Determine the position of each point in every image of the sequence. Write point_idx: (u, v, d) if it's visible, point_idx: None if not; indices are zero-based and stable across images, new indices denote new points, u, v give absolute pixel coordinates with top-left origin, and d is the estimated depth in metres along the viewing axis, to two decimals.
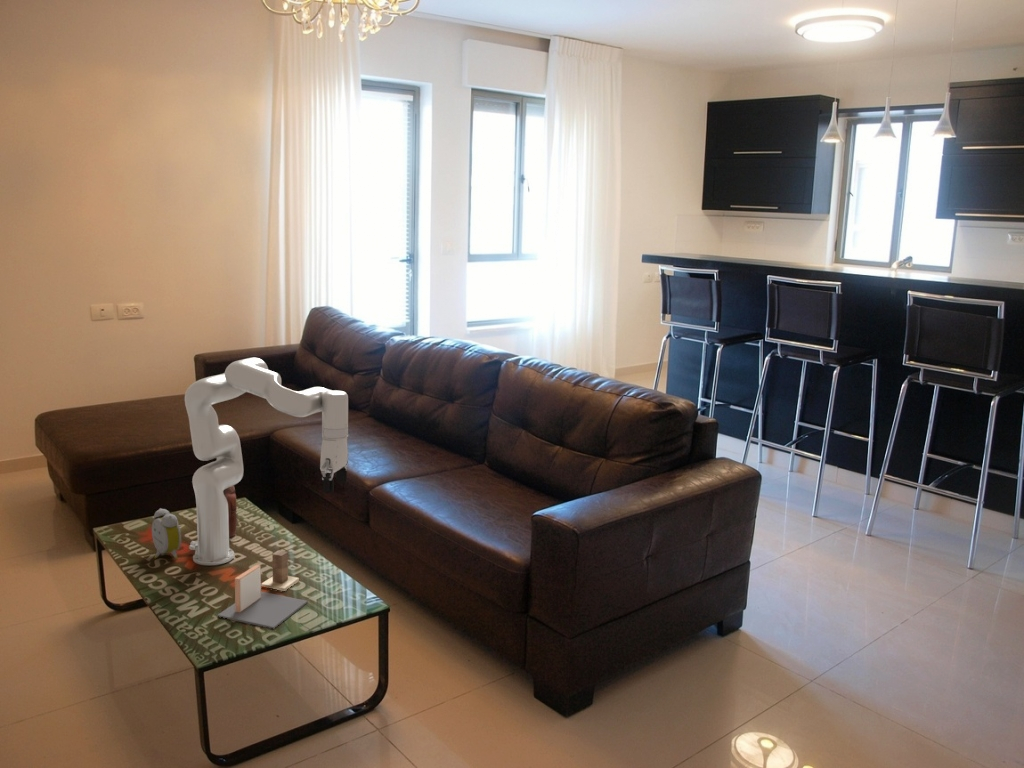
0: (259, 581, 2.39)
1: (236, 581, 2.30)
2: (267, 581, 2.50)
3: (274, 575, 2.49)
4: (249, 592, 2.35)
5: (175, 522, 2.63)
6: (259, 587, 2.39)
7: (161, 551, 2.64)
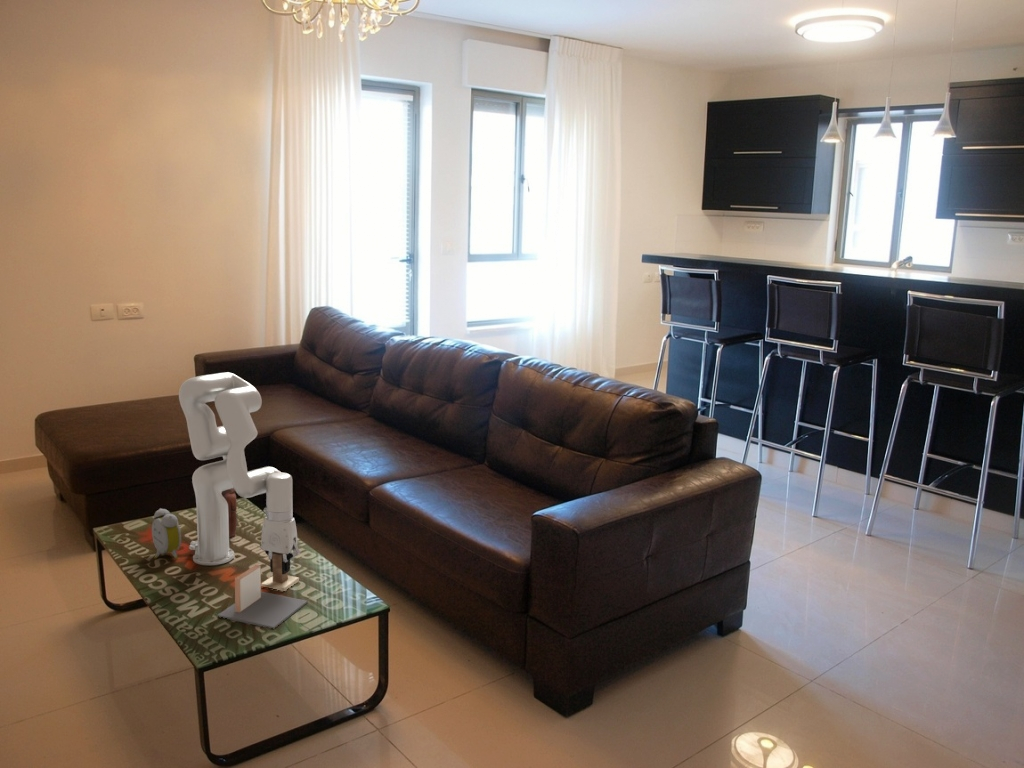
0: (259, 581, 2.39)
1: (236, 581, 2.30)
2: (267, 580, 2.50)
3: (274, 575, 2.49)
4: (249, 592, 2.35)
5: (175, 522, 2.63)
6: (259, 587, 2.39)
7: (161, 551, 2.64)
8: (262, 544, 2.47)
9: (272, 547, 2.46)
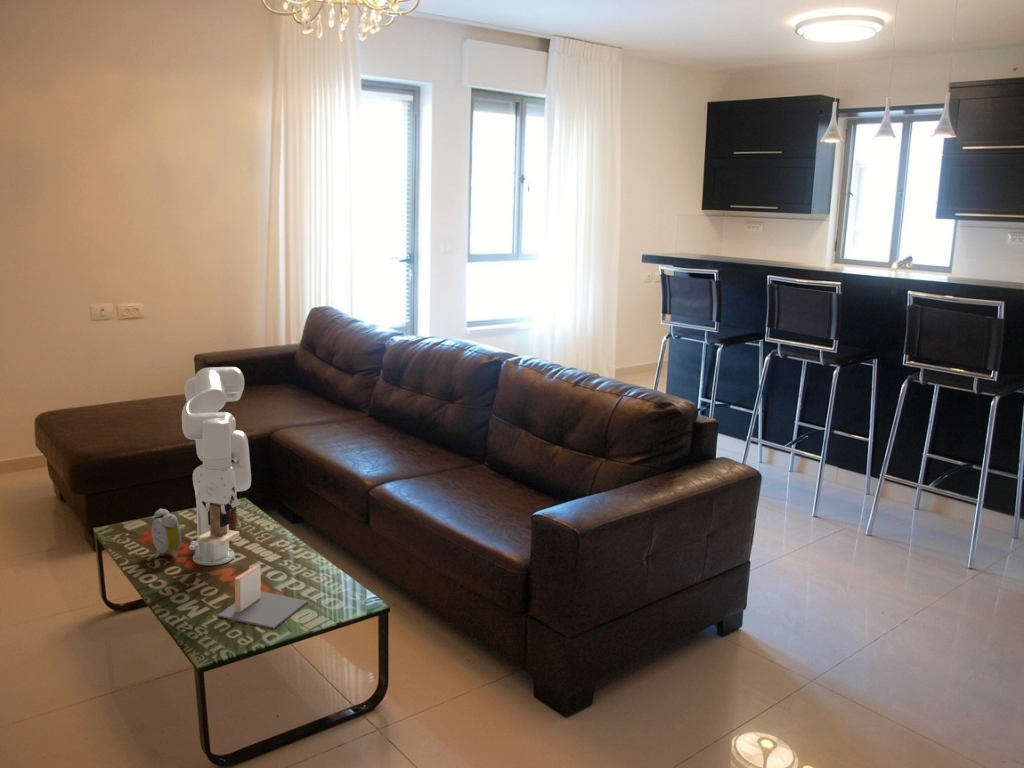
0: (259, 581, 2.39)
1: (236, 581, 2.30)
2: (205, 534, 2.35)
3: (212, 528, 2.34)
4: (249, 592, 2.35)
5: (175, 522, 2.63)
6: (259, 587, 2.39)
7: (161, 551, 2.64)
8: (198, 495, 2.32)
9: (209, 498, 2.31)
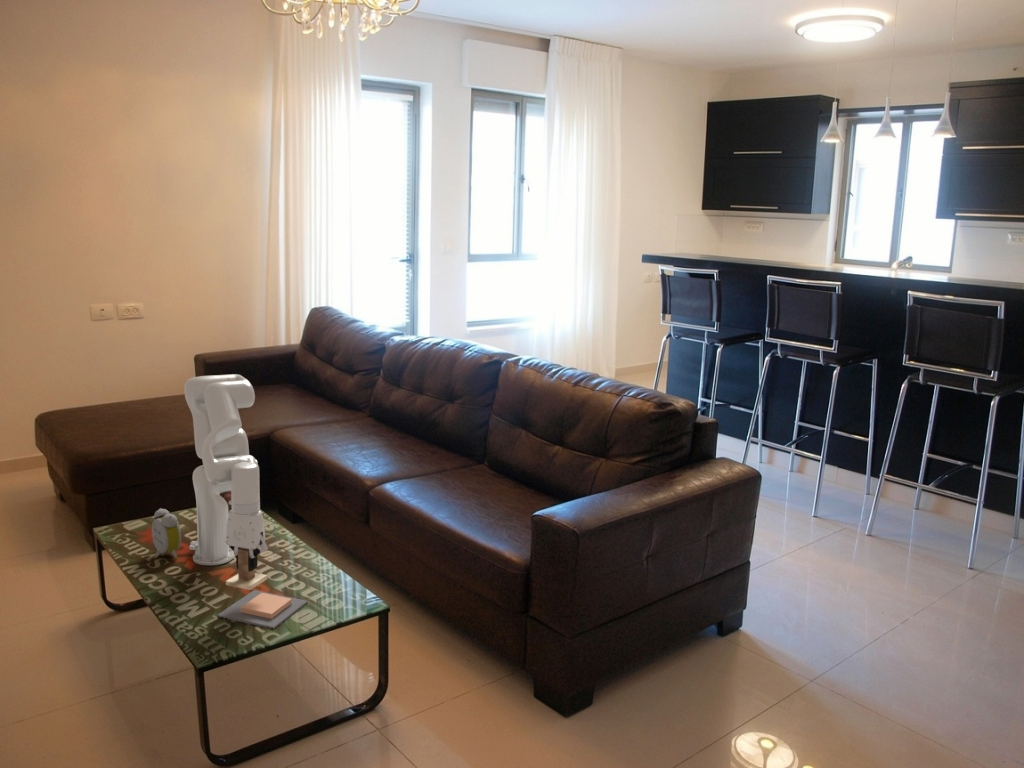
0: None
1: (269, 615, 2.28)
2: (233, 578, 2.34)
3: (240, 572, 2.33)
4: None
5: (175, 522, 2.63)
6: None
7: (161, 551, 2.64)
8: (227, 539, 2.31)
9: (237, 542, 2.30)
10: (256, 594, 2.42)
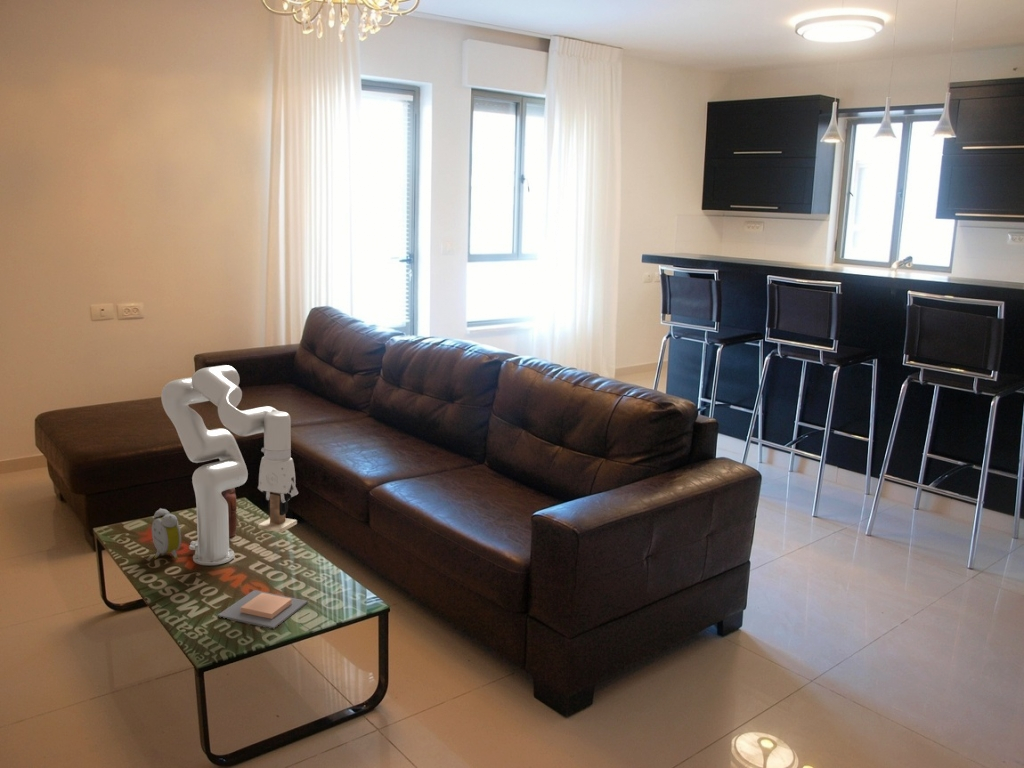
0: None
1: (269, 615, 2.28)
2: (265, 522, 2.46)
3: (271, 516, 2.45)
4: None
5: (175, 522, 2.63)
6: None
7: (161, 551, 2.64)
8: (260, 484, 2.43)
9: (270, 487, 2.42)
10: (256, 594, 2.42)
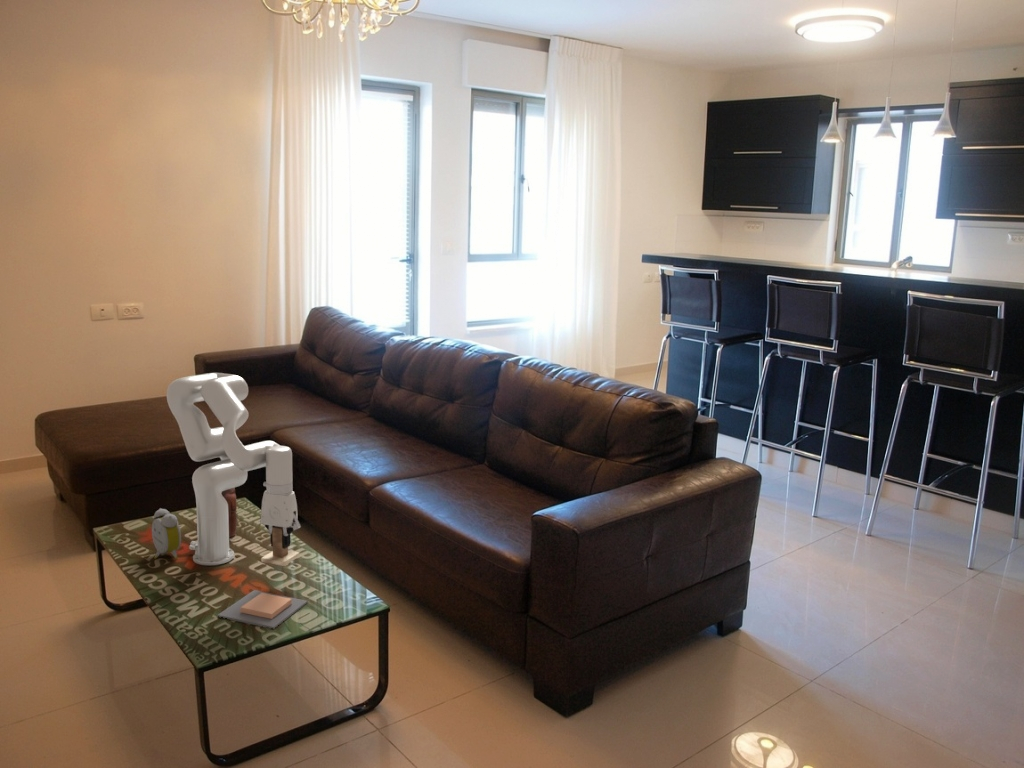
0: None
1: (269, 615, 2.28)
2: (267, 555, 2.48)
3: (274, 549, 2.48)
4: None
5: (175, 522, 2.63)
6: None
7: (161, 551, 2.64)
8: (262, 518, 2.46)
9: (272, 521, 2.45)
10: (256, 594, 2.42)
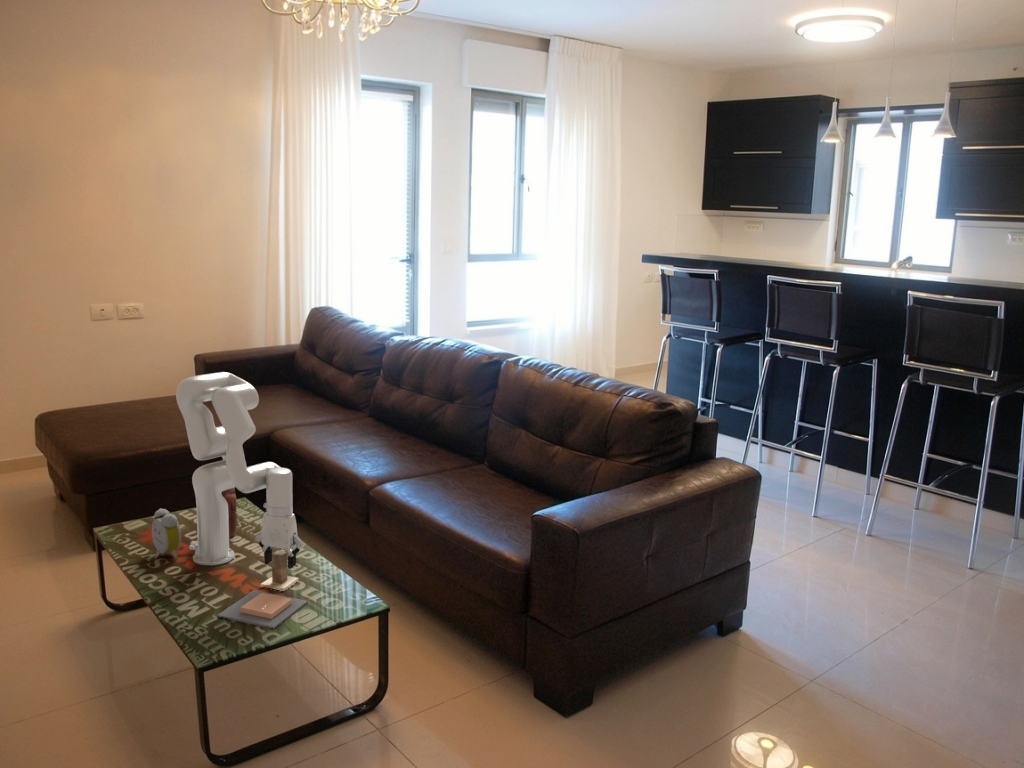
0: None
1: (269, 615, 2.28)
2: (267, 581, 2.50)
3: (274, 575, 2.49)
4: None
5: (175, 522, 2.63)
6: None
7: (161, 551, 2.64)
8: (262, 539, 2.47)
9: (272, 542, 2.46)
10: (256, 594, 2.42)
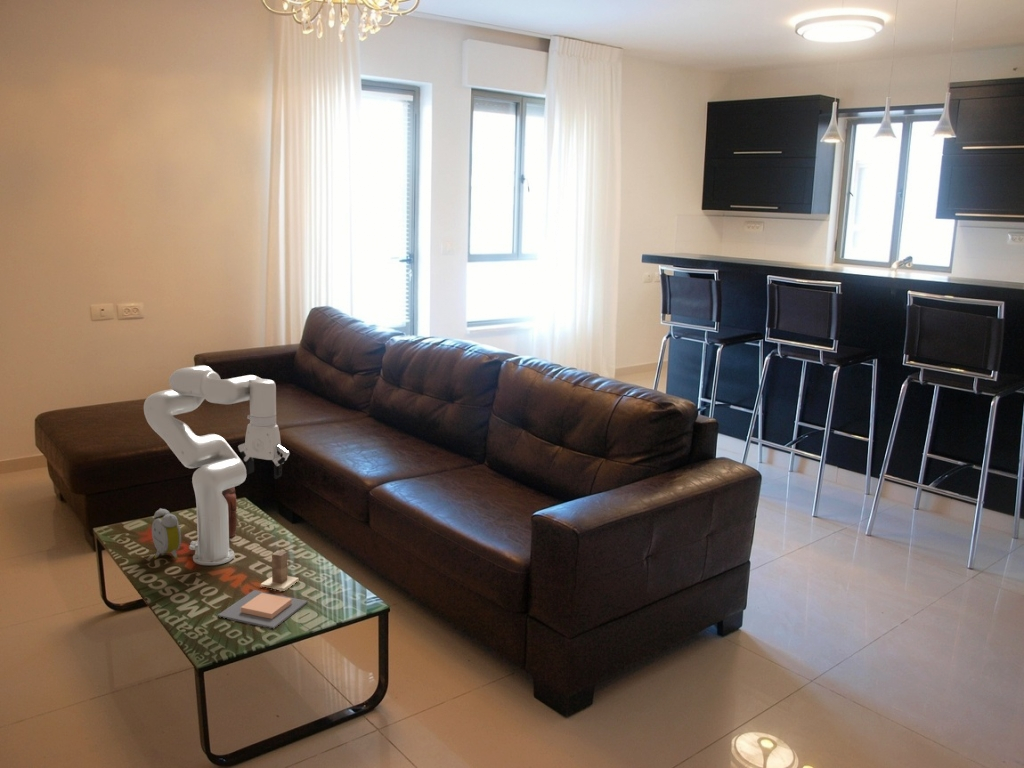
0: None
1: (269, 615, 2.28)
2: (267, 581, 2.50)
3: (274, 575, 2.49)
4: None
5: (175, 522, 2.63)
6: None
7: (161, 551, 2.64)
8: (246, 451, 2.48)
9: (256, 453, 2.47)
10: (256, 594, 2.42)
